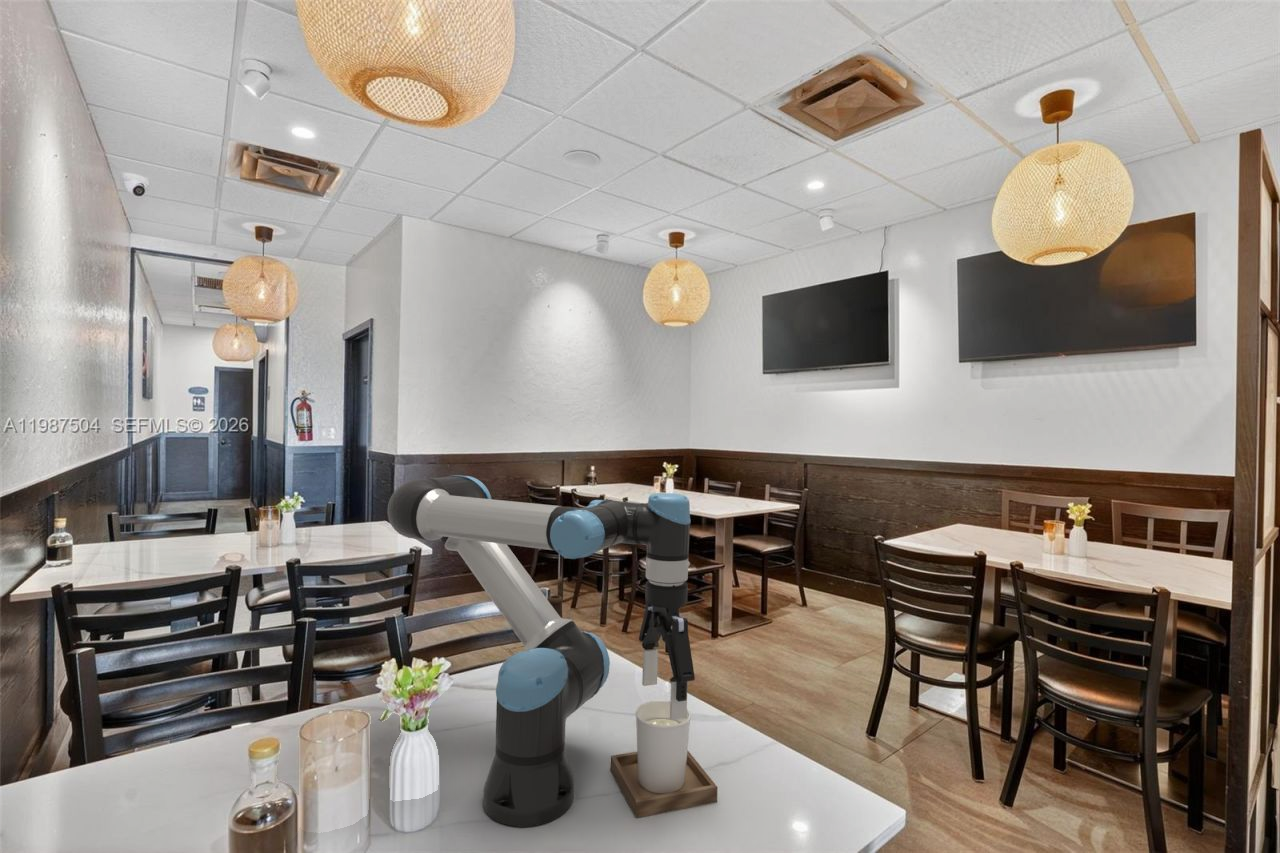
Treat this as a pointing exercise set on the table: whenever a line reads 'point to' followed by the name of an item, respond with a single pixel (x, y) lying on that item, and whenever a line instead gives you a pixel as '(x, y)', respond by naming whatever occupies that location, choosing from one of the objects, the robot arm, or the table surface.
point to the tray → (649, 803)
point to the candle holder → (661, 747)
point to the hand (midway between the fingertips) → (663, 700)
